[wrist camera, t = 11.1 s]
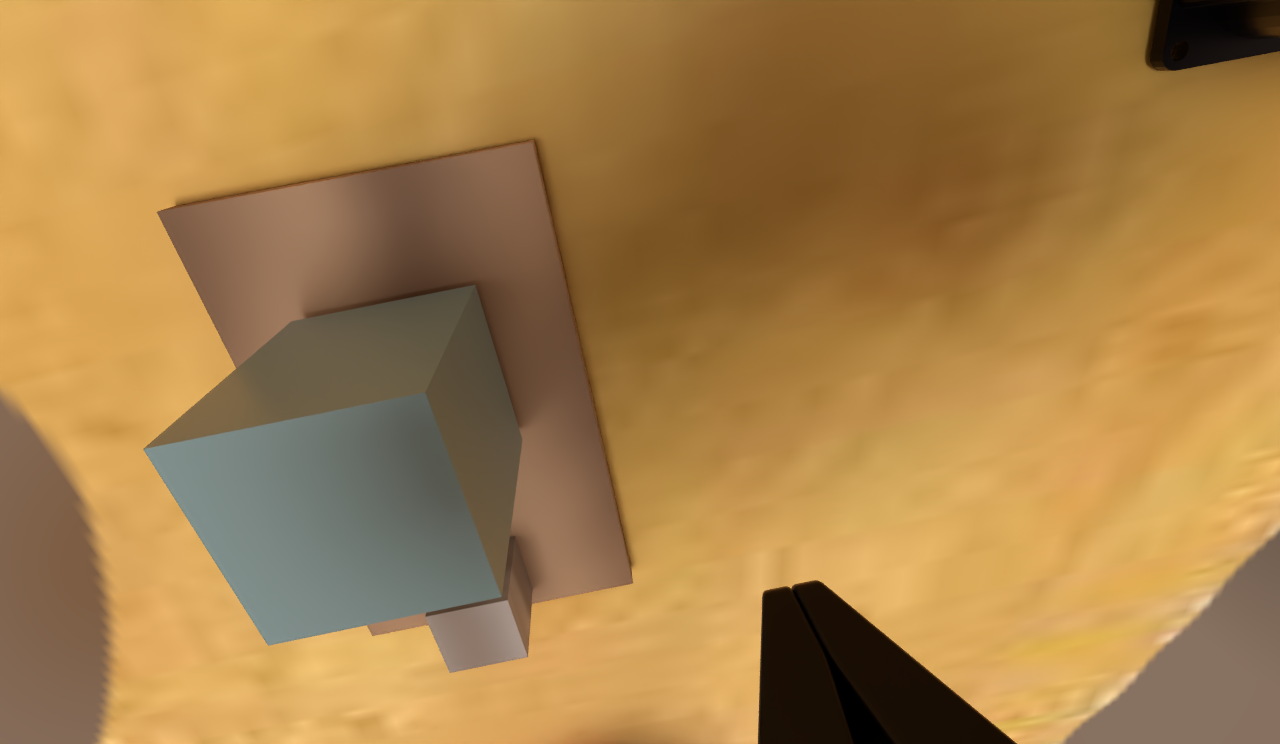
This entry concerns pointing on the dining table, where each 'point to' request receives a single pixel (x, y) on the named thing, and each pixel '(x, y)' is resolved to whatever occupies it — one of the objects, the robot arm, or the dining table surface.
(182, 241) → the stand
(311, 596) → the grey-blue rectangular block
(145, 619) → the dining table surface
